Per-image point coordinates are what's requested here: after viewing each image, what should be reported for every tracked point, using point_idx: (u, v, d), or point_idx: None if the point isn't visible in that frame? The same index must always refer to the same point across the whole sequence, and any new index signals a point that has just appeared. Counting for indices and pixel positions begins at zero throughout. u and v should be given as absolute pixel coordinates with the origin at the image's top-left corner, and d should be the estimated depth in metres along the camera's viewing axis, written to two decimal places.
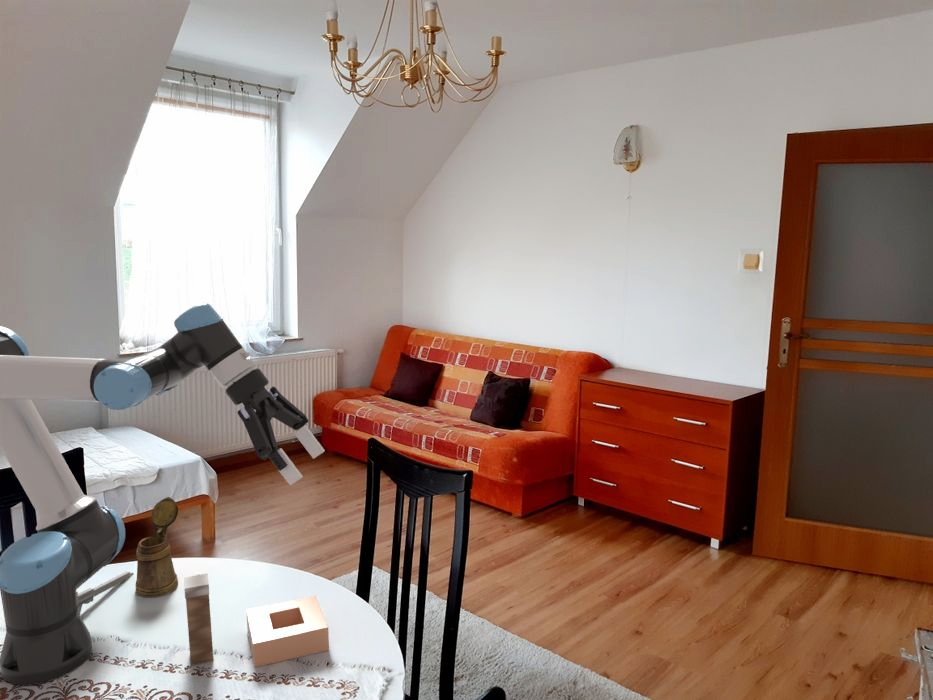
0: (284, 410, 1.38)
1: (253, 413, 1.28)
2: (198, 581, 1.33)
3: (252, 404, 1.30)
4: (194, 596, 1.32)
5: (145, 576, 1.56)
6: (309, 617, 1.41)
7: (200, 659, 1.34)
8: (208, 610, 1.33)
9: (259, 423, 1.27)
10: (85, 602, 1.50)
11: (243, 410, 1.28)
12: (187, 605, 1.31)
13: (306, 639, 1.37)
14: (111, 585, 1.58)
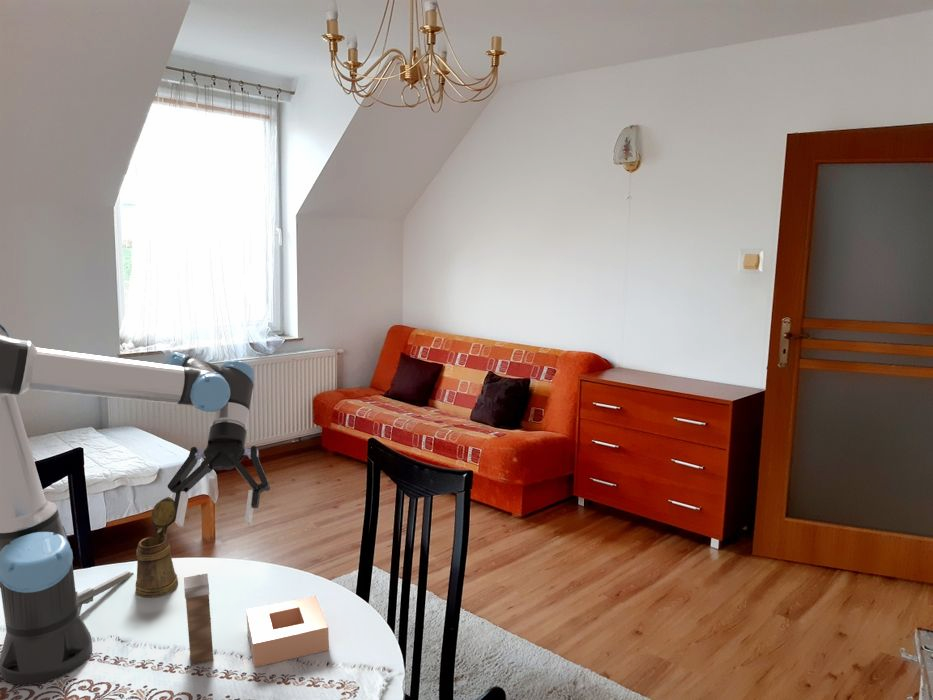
0: None
1: None
2: (198, 581, 1.33)
3: None
4: (194, 596, 1.32)
5: (145, 576, 1.56)
6: (309, 617, 1.41)
7: (200, 659, 1.34)
8: (208, 610, 1.33)
9: None
10: (85, 602, 1.50)
11: (257, 450, 1.51)
12: (187, 605, 1.31)
13: (306, 639, 1.37)
14: (111, 585, 1.58)
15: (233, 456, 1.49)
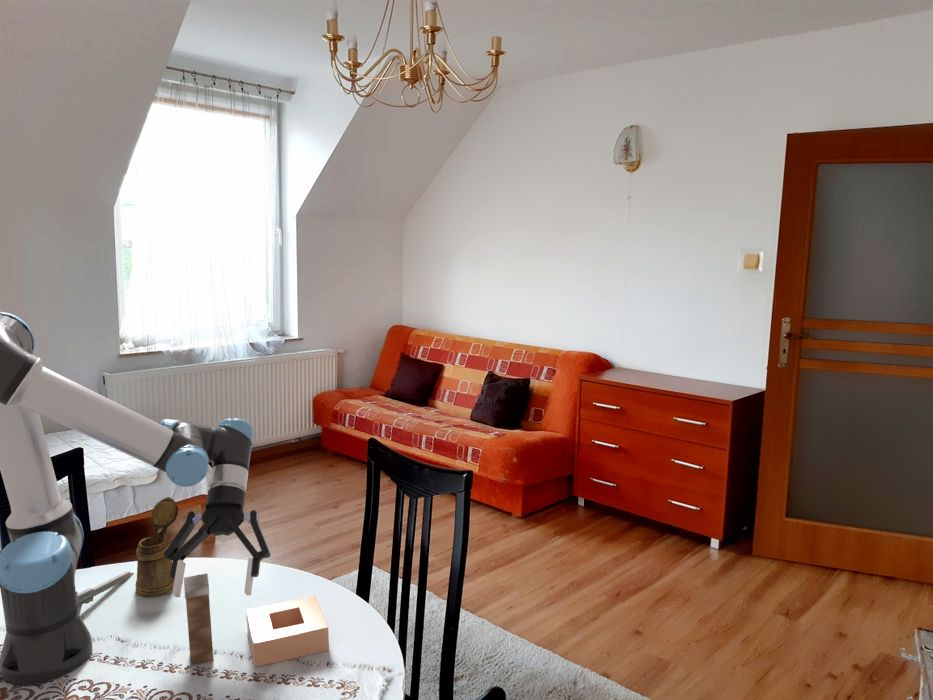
0: None
1: (256, 523, 1.47)
2: (198, 581, 1.33)
3: None
4: (194, 596, 1.32)
5: (145, 576, 1.56)
6: (309, 617, 1.41)
7: (200, 659, 1.34)
8: (208, 610, 1.33)
9: None
10: (85, 602, 1.50)
11: (257, 514, 1.47)
12: (187, 605, 1.31)
13: (306, 639, 1.37)
14: (111, 585, 1.58)
15: (232, 522, 1.44)
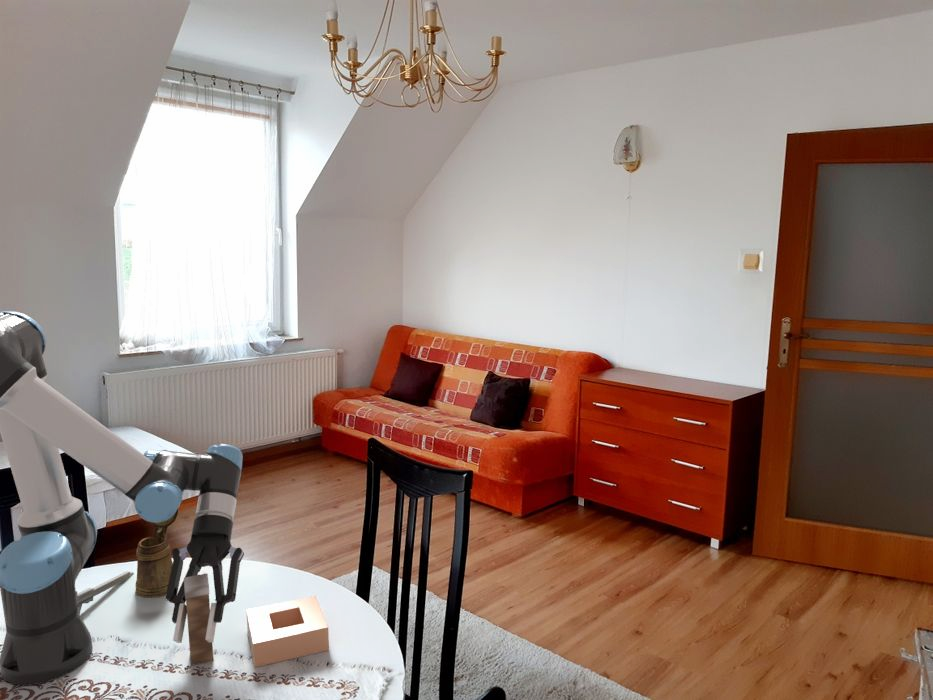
0: None
1: None
2: (198, 581, 1.33)
3: None
4: (194, 596, 1.32)
5: (145, 576, 1.56)
6: (309, 617, 1.41)
7: (200, 659, 1.34)
8: (208, 610, 1.33)
9: None
10: (85, 602, 1.50)
11: (242, 553, 1.41)
12: (187, 605, 1.31)
13: (306, 639, 1.37)
14: (111, 585, 1.58)
15: (215, 555, 1.39)
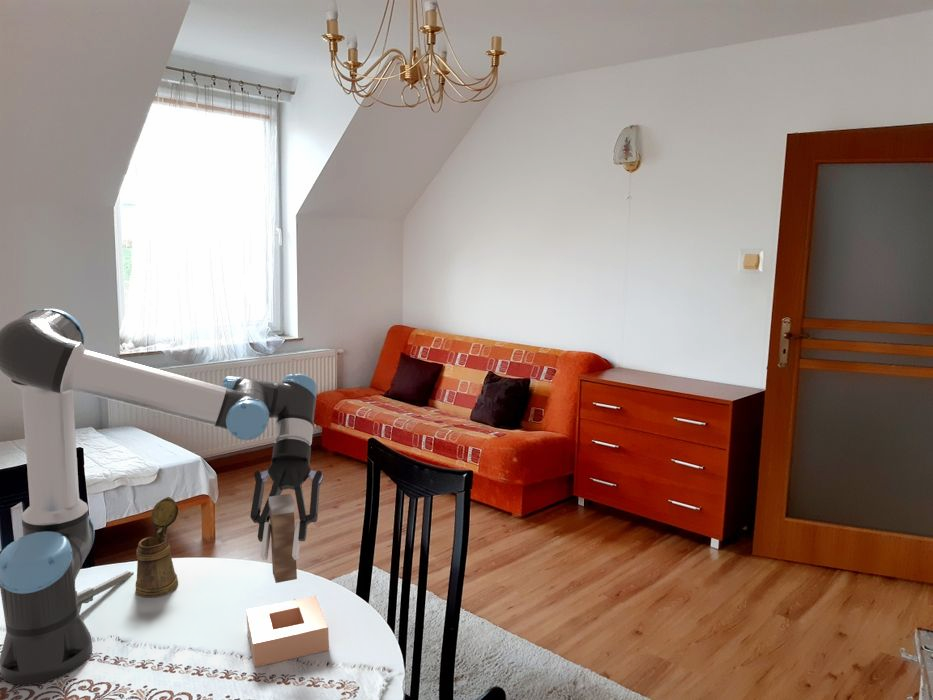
0: None
1: (318, 484, 1.43)
2: (283, 499, 1.35)
3: None
4: (280, 513, 1.34)
5: (145, 576, 1.56)
6: (309, 617, 1.41)
7: (284, 577, 1.37)
8: (293, 528, 1.35)
9: None
10: (85, 601, 1.51)
11: (322, 476, 1.43)
12: (273, 522, 1.34)
13: (306, 639, 1.37)
14: (111, 585, 1.59)
15: (296, 477, 1.41)
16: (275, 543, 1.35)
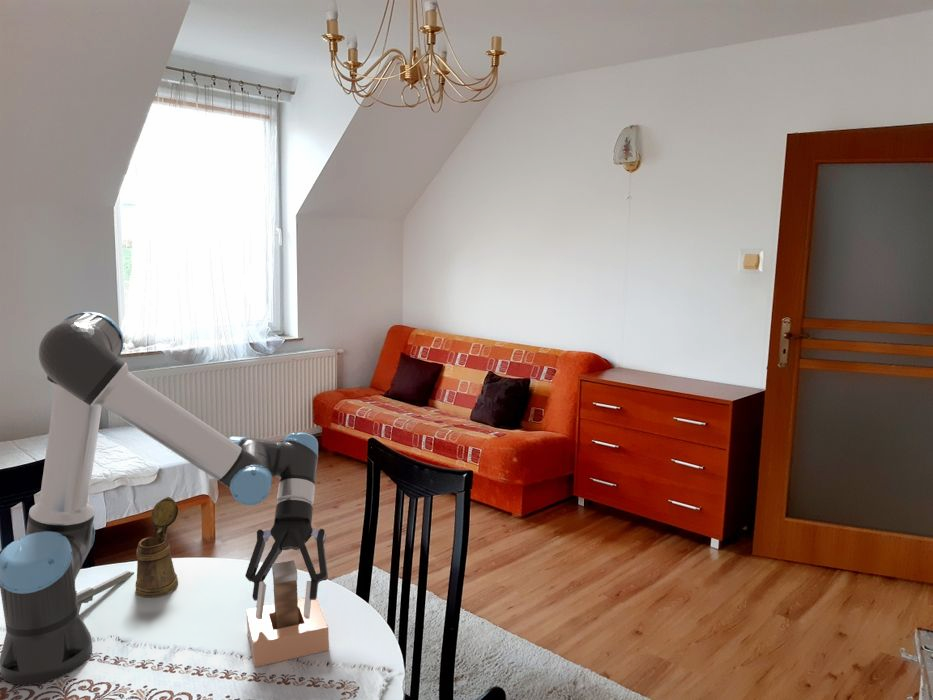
0: None
1: (322, 542, 1.46)
2: (286, 567, 1.38)
3: None
4: (283, 582, 1.37)
5: (145, 576, 1.56)
6: None
7: None
8: (296, 595, 1.38)
9: None
10: (84, 601, 1.51)
11: (325, 534, 1.46)
12: (276, 590, 1.37)
13: (306, 639, 1.37)
14: (111, 584, 1.59)
15: (300, 537, 1.44)
16: (278, 610, 1.38)
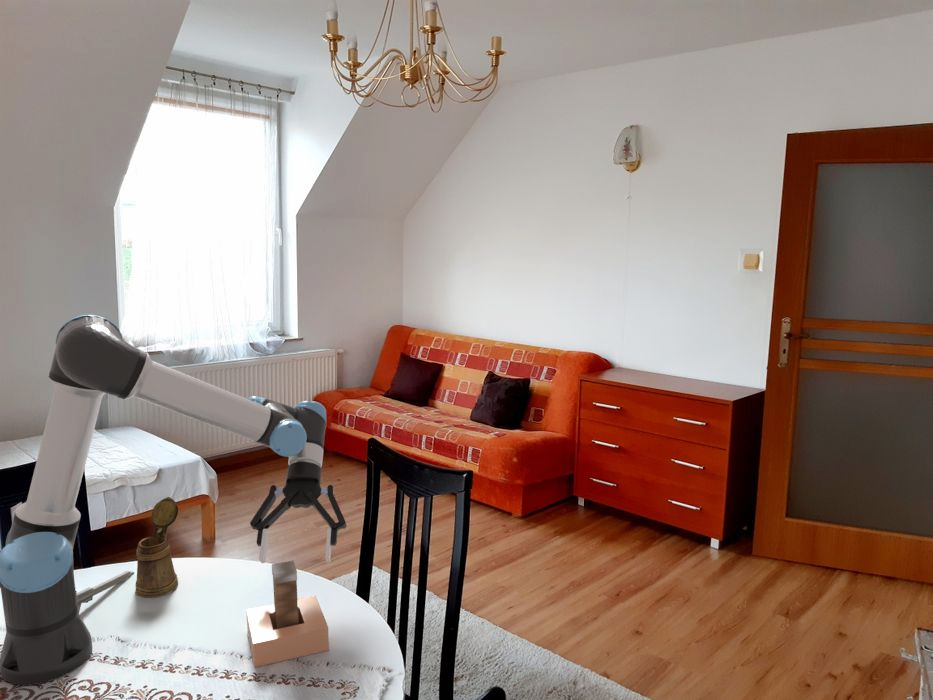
0: None
1: None
2: (286, 567, 1.38)
3: None
4: (283, 582, 1.37)
5: (145, 576, 1.56)
6: (309, 617, 1.41)
7: None
8: (295, 595, 1.38)
9: None
10: (84, 601, 1.51)
11: (333, 489, 1.58)
12: (276, 590, 1.37)
13: (306, 639, 1.37)
14: (111, 584, 1.59)
15: (311, 495, 1.56)
16: (278, 610, 1.38)
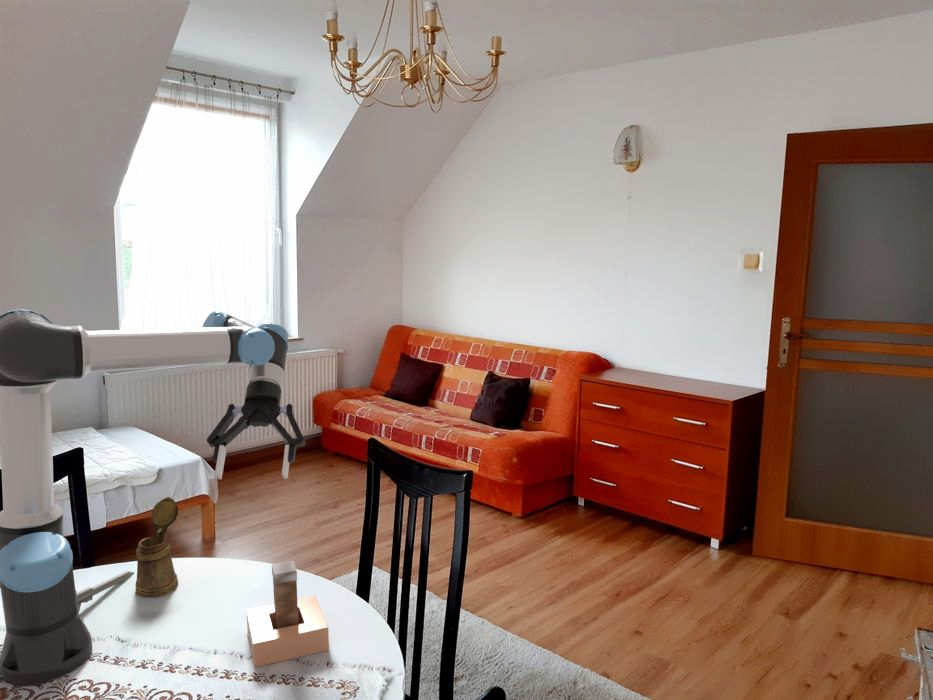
0: None
1: None
2: (286, 567, 1.38)
3: None
4: (283, 582, 1.37)
5: (145, 576, 1.56)
6: (309, 617, 1.41)
7: None
8: (295, 596, 1.38)
9: None
10: (84, 601, 1.51)
11: (292, 408, 1.56)
12: (276, 590, 1.37)
13: (306, 639, 1.37)
14: (111, 584, 1.59)
15: (270, 413, 1.54)
16: (278, 610, 1.38)
